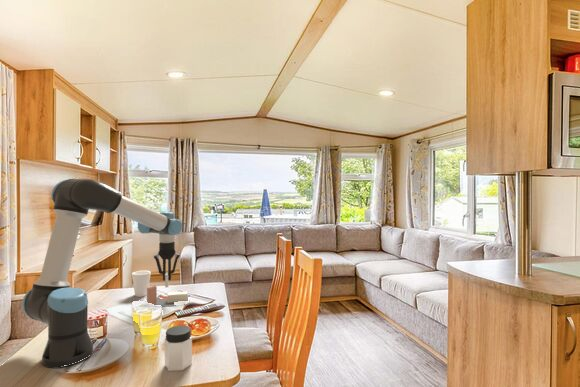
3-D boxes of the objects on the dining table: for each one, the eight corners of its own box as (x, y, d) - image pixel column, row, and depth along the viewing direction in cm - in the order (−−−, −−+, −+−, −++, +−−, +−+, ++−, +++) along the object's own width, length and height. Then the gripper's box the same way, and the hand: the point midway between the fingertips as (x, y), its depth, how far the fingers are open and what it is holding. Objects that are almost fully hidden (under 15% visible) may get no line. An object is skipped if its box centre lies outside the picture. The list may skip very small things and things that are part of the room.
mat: (189, 306, 170) (189, 305, 170) (142, 310, 164) (142, 308, 164) (189, 296, 185) (189, 295, 185) (147, 299, 180) (147, 298, 179)
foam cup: (128, 296, 184) (128, 272, 184) (144, 292, 192) (144, 269, 191) (137, 299, 179) (137, 275, 178) (153, 295, 186) (153, 272, 186)
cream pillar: (167, 302, 173) (187, 301, 175) (167, 295, 173) (187, 293, 175) (167, 300, 177) (187, 298, 179) (168, 292, 177) (187, 291, 179)
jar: (194, 358, 119) (194, 324, 119) (189, 370, 111) (189, 334, 111) (168, 359, 118) (168, 325, 118) (161, 371, 110) (161, 335, 110)
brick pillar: (156, 307, 166) (156, 287, 166) (147, 308, 164) (147, 288, 164) (155, 304, 170) (155, 285, 170) (146, 306, 168) (146, 286, 168)
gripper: (180, 240, 179) (180, 283, 180) (154, 240, 176) (154, 285, 176) (179, 242, 172) (179, 287, 173) (152, 243, 169) (152, 289, 169)
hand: (166, 286), depth 175 cm, fingers closed
